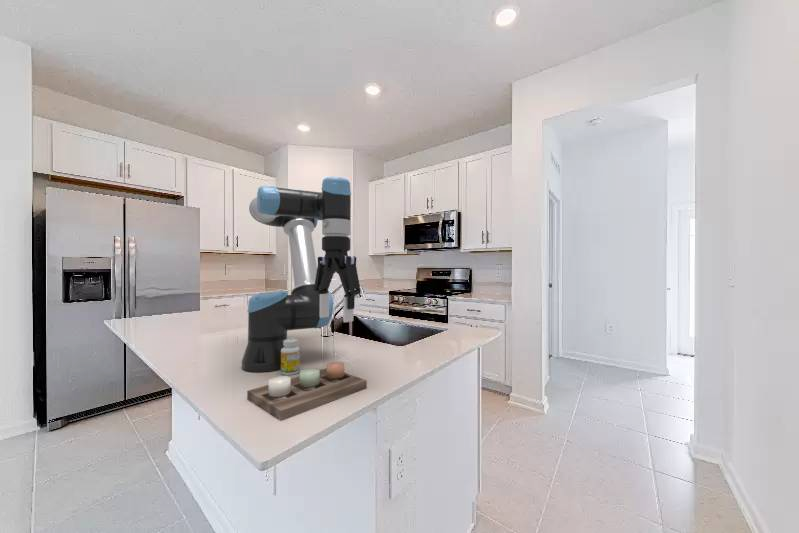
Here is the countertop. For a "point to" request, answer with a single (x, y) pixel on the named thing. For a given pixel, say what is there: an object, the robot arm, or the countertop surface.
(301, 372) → the sage button
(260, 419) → the countertop surface
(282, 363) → the supplement bottle
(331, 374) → the terracotta button
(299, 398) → the wooden tray
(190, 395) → the countertop surface
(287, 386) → the cream button
